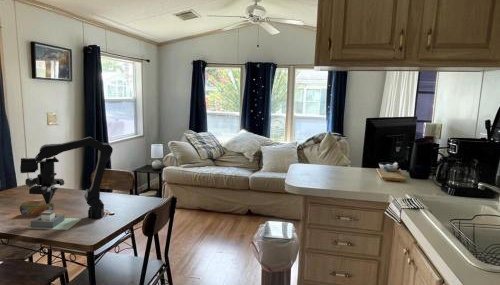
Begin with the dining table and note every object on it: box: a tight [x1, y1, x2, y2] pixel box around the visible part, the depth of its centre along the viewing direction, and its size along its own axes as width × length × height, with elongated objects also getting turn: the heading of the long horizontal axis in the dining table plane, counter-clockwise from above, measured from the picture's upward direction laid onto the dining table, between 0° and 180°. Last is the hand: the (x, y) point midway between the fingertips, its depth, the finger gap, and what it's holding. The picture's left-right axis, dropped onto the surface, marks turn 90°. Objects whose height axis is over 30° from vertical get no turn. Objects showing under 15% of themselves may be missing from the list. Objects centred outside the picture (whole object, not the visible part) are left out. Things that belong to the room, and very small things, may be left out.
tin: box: [19, 199, 55, 217], centre depth 162 cm, size 15×3×8 cm, turn 105°
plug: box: [40, 209, 56, 220], centre depth 151 cm, size 4×4×6 cm
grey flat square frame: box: [30, 213, 65, 229], centre depth 151 cm, size 10×10×3 cm
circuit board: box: [27, 217, 82, 231], centre depth 153 cm, size 18×14×1 cm
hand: (47, 203), depth 150 cm, fingers closed
